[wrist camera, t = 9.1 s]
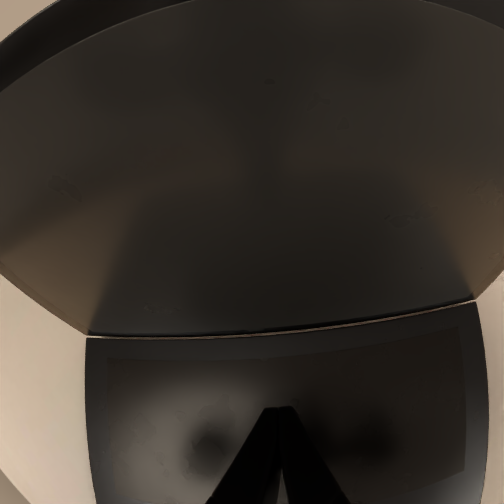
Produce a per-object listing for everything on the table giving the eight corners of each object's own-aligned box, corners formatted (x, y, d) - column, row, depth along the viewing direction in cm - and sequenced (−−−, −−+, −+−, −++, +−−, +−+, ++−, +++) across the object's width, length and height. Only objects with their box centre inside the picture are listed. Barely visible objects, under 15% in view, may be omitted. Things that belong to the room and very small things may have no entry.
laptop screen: (611, 74, 1) (597, 63, 1) (-99, 166, 3) (-89, 153, 4) (476, 300, 13) (473, 290, 13) (85, 337, 15) (87, 327, 16)
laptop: (467, 510, 8) (478, 516, 7) (115, 532, 10) (104, 539, 9) (464, 307, 14) (477, 300, 13) (98, 341, 17) (84, 336, 15)
